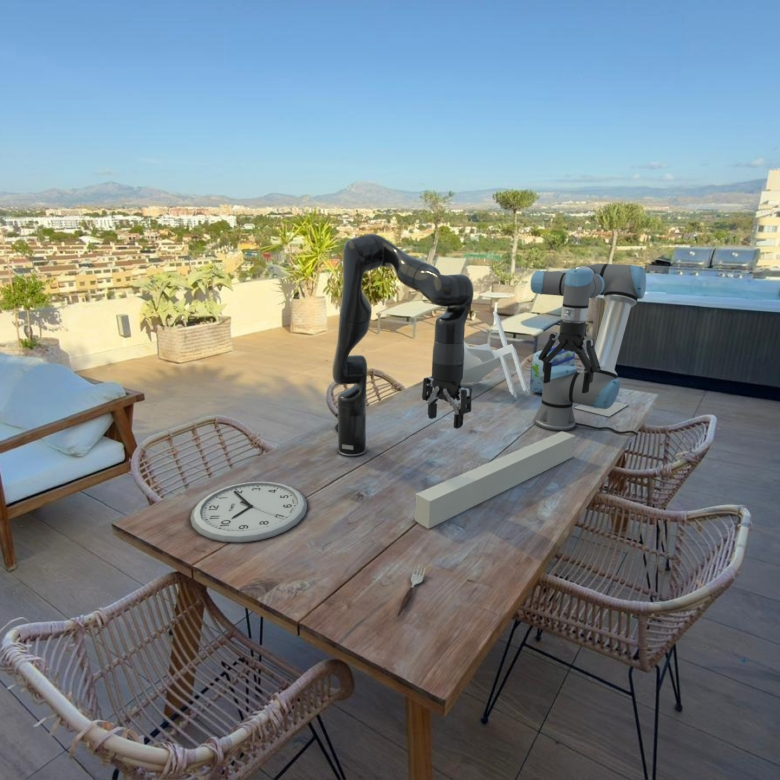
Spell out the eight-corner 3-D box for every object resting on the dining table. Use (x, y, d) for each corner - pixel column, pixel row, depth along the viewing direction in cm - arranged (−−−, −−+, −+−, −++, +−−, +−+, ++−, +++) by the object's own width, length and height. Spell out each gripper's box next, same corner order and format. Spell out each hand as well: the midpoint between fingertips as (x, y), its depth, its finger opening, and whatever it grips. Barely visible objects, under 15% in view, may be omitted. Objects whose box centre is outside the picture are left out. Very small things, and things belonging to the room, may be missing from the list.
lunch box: (546, 399, 235) (551, 353, 228) (525, 393, 242) (530, 349, 236) (574, 387, 252) (579, 345, 246) (553, 383, 260) (558, 341, 253)
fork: (391, 616, 102) (391, 608, 102) (415, 569, 116) (416, 561, 116) (404, 620, 101) (404, 611, 101) (426, 571, 116) (427, 564, 115)
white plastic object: (461, 429, 252) (437, 405, 227) (444, 352, 274) (420, 323, 250) (535, 404, 240) (518, 377, 215) (510, 326, 262) (492, 293, 237)
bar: (559, 452, 179) (562, 431, 177) (572, 457, 176) (575, 435, 173) (414, 520, 136) (415, 493, 134) (428, 528, 132) (429, 501, 130)
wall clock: (302, 534, 126) (174, 538, 123) (303, 540, 126) (175, 544, 124) (310, 477, 154) (206, 479, 152) (310, 482, 155) (206, 484, 152)
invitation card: (608, 416, 214) (573, 407, 224) (608, 416, 214) (573, 408, 224) (628, 404, 229) (594, 396, 238) (628, 405, 229) (594, 397, 238)
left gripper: (416, 356, 128) (414, 418, 133) (460, 368, 118) (456, 435, 123) (437, 352, 133) (434, 412, 138) (481, 363, 123) (476, 427, 127)
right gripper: (531, 316, 166) (525, 380, 172) (606, 328, 148) (596, 399, 155) (544, 314, 171) (538, 376, 177) (619, 325, 153) (608, 394, 159)
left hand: (444, 422), depth 130 cm, fingers open, 8 cm apart
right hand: (565, 387), depth 166 cm, fingers open, 13 cm apart
